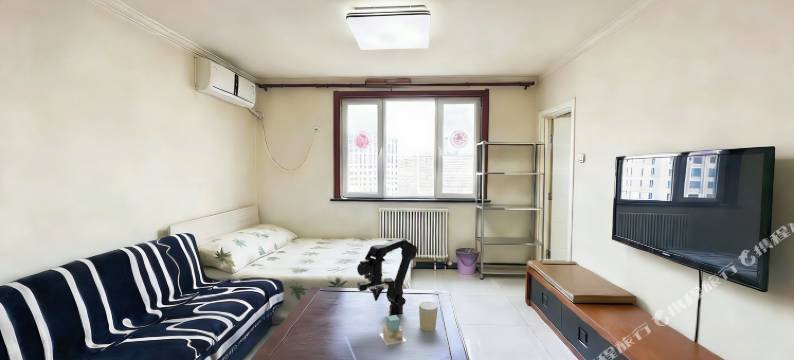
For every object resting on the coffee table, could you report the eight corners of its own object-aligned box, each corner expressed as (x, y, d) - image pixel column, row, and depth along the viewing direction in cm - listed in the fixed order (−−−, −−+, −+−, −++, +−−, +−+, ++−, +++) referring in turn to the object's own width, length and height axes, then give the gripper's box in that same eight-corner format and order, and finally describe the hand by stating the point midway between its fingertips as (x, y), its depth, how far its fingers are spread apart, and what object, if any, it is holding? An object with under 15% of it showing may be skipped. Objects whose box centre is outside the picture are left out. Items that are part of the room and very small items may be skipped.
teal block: (395, 324, 152) (395, 314, 152) (399, 329, 148) (399, 319, 148) (386, 326, 151) (386, 316, 150) (390, 331, 146) (390, 320, 146)
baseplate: (398, 332, 156) (398, 330, 156) (406, 343, 147) (406, 341, 147) (379, 335, 152) (379, 333, 152) (386, 347, 143) (386, 345, 143)
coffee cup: (438, 326, 163) (439, 303, 162) (434, 335, 154) (435, 311, 153) (421, 322, 166) (421, 300, 165) (416, 331, 157) (416, 308, 156)
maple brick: (396, 332, 154) (397, 323, 154) (402, 339, 148) (402, 330, 147) (383, 335, 152) (383, 325, 151) (388, 342, 145) (388, 333, 145)
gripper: (388, 264, 174) (387, 292, 174) (354, 267, 167) (354, 296, 168) (395, 270, 163) (394, 300, 164) (360, 274, 156) (359, 305, 157)
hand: (375, 300), depth 164 cm, fingers closed
